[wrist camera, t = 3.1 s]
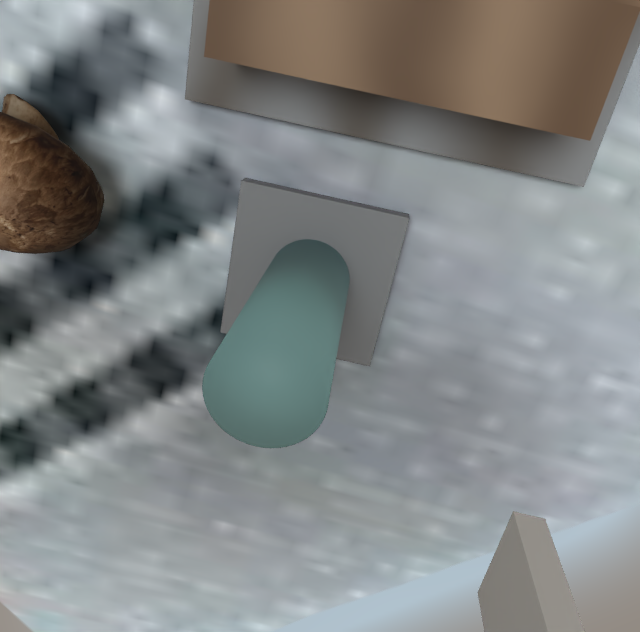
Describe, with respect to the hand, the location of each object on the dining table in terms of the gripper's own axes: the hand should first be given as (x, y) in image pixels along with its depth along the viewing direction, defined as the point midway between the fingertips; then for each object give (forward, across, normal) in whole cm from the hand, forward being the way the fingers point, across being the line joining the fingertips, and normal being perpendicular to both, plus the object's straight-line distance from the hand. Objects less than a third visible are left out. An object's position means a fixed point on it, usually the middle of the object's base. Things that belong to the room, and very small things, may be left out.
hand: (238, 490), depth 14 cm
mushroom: (+16, -14, +2) cm, 22 cm away
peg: (+15, 0, 0) cm, 15 cm away
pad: (+16, 0, 0) cm, 16 cm away
